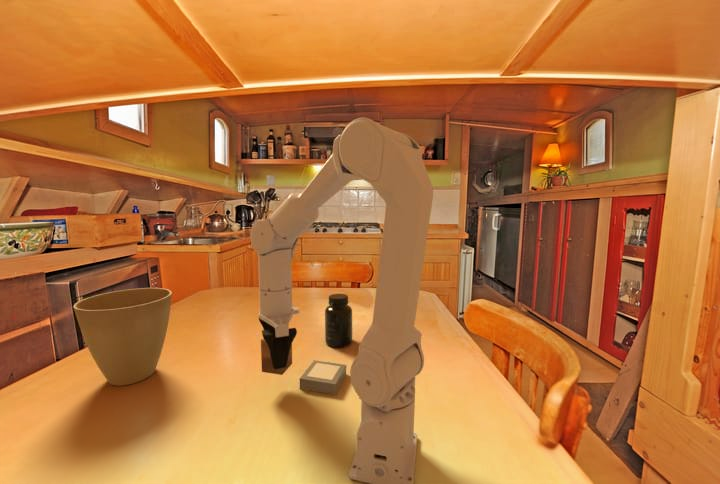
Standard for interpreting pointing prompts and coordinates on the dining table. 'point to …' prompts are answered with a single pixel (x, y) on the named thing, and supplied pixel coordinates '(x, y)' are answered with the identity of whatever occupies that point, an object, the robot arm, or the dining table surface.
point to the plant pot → (125, 331)
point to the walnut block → (267, 360)
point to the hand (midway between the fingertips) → (277, 359)
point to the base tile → (323, 377)
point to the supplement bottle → (338, 321)
